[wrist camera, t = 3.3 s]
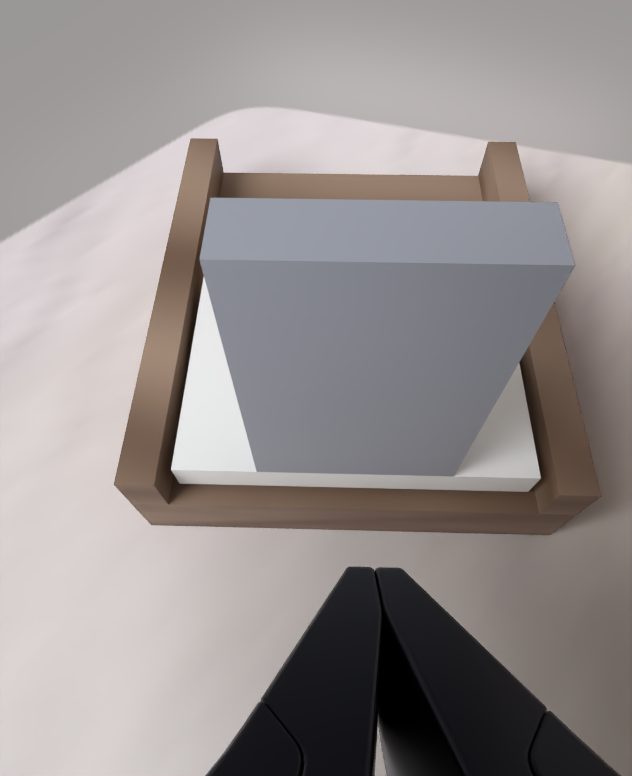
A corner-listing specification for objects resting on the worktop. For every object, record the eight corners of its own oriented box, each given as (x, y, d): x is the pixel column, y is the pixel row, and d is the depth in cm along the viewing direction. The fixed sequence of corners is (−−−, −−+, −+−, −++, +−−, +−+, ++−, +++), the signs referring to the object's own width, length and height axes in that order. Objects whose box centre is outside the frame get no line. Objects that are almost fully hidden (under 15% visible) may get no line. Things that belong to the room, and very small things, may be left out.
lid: (528, 491, 15) (743, 267, 7) (179, 483, 15) (37, 256, 7) (495, 301, 18) (620, 10, 11) (209, 296, 18) (131, 7, 11)
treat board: (549, 534, 16) (600, 496, 13) (151, 525, 17) (114, 484, 14) (490, 215, 23) (515, 142, 20) (207, 211, 24) (190, 138, 20)
